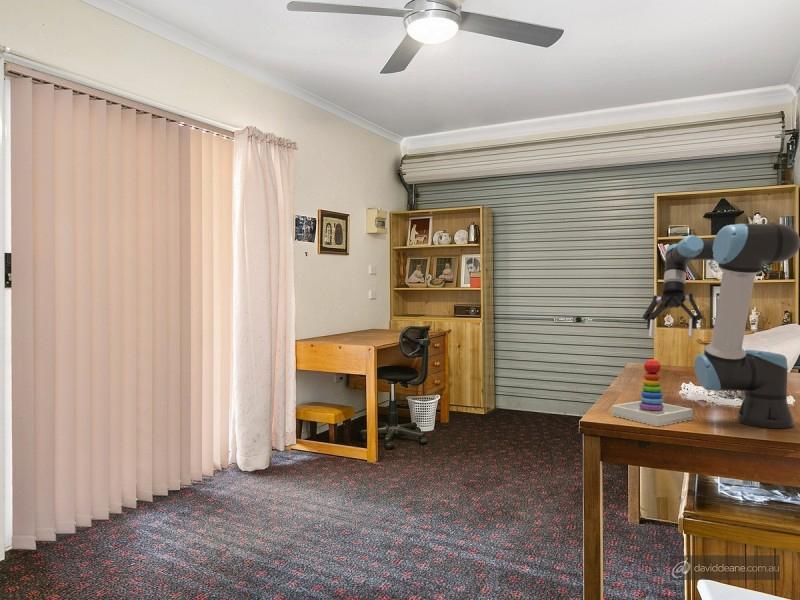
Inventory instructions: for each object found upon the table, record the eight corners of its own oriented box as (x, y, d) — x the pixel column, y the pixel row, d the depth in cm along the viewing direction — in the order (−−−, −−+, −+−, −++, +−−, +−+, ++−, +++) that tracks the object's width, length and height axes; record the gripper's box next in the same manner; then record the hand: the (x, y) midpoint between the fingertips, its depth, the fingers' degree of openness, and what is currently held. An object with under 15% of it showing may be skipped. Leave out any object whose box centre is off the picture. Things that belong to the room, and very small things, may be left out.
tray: (692, 419, 194) (692, 409, 193) (658, 426, 184) (658, 415, 184) (645, 409, 209) (645, 399, 209) (611, 415, 200) (611, 405, 200)
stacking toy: (667, 417, 192) (667, 361, 192) (641, 416, 194) (641, 360, 193) (661, 412, 200) (661, 357, 199) (636, 411, 202) (636, 357, 201)
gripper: (713, 285, 214) (710, 340, 207) (643, 289, 231) (638, 340, 224) (708, 277, 209) (705, 333, 202) (637, 282, 225) (632, 333, 219)
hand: (670, 337), depth 213 cm, fingers open, 13 cm apart
